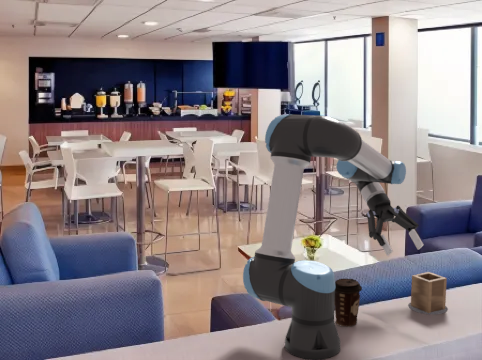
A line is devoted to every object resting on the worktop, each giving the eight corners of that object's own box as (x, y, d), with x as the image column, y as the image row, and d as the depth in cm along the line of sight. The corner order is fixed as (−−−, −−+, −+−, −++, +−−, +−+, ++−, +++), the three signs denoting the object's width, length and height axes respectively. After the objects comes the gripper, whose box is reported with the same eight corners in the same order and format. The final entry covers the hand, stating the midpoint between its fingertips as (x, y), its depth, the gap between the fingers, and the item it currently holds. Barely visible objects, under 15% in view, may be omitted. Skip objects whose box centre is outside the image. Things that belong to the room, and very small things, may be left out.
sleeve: (410, 305, 191) (411, 275, 190) (427, 301, 195) (428, 271, 193) (428, 313, 185) (429, 282, 183) (445, 308, 188) (446, 278, 187)
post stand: (402, 313, 189) (403, 286, 187) (415, 302, 198) (416, 276, 197) (440, 321, 182) (441, 293, 180) (452, 309, 191) (453, 282, 190)
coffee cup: (359, 318, 185) (360, 277, 183) (362, 328, 177) (363, 286, 175) (331, 317, 186) (332, 277, 184) (332, 327, 178) (333, 286, 176)
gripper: (397, 200, 216) (426, 250, 206) (342, 208, 204) (370, 262, 194) (408, 188, 211) (439, 239, 200) (352, 195, 199) (382, 250, 188)
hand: (405, 250), depth 197 cm, fingers open, 13 cm apart
